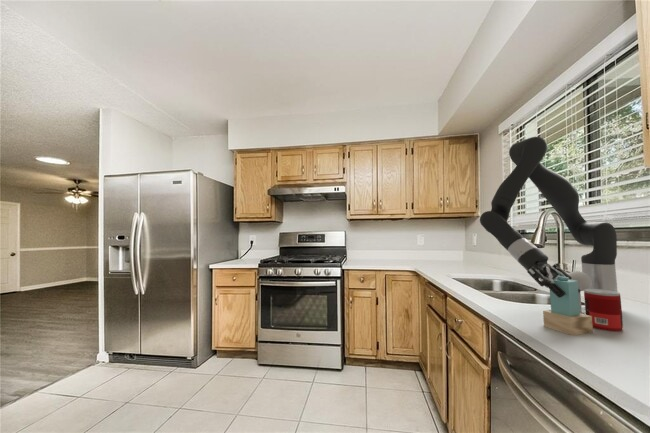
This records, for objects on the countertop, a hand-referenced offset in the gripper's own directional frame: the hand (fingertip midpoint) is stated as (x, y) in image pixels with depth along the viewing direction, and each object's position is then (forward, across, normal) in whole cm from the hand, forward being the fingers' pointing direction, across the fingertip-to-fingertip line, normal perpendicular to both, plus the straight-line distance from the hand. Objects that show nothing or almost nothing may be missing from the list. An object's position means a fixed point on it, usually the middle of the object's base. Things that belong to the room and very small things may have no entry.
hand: (570, 294), depth 82 cm
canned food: (+10, +12, +6) cm, 16 cm away
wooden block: (+7, 0, +9) cm, 11 cm away
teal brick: (+3, 0, +5) cm, 6 cm away
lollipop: (+2, +25, +14) cm, 29 cm away
